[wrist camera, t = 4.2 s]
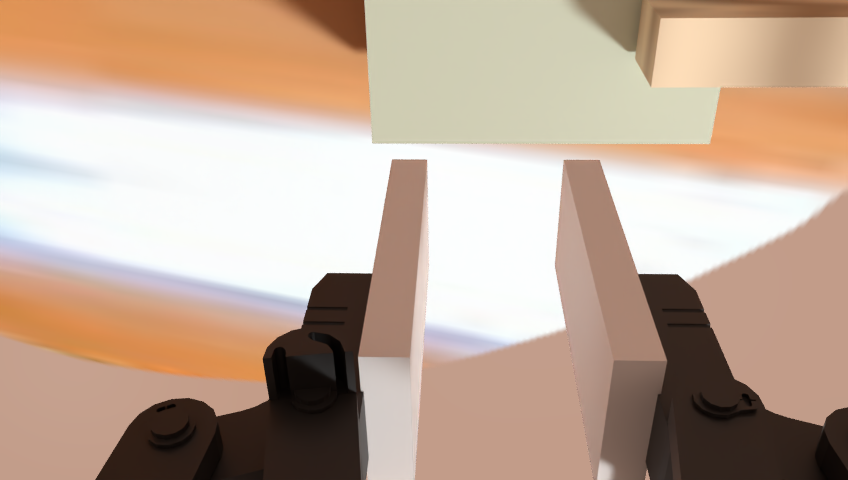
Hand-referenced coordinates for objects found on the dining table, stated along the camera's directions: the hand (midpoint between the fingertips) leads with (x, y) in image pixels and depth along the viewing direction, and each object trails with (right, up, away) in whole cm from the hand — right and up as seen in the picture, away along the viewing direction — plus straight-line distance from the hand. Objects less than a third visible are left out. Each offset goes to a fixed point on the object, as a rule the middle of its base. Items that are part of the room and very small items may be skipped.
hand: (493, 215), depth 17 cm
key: (+11, +7, +11) cm, 17 cm away
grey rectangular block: (+3, +11, +17) cm, 21 cm away
